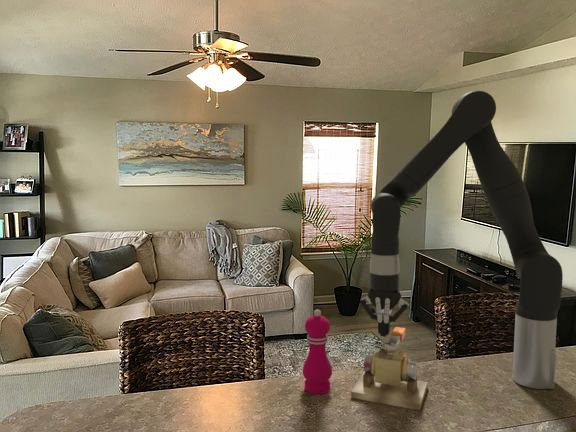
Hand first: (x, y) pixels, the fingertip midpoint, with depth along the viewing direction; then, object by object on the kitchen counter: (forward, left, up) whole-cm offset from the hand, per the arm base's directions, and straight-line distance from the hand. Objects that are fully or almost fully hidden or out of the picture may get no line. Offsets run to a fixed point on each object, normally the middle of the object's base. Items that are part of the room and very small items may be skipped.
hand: (383, 335), depth 130 cm
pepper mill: (+13, +15, -10) cm, 22 cm away
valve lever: (-4, +5, 0) cm, 6 cm away
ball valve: (-4, +11, -7) cm, 13 cm away
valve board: (-4, +11, -10) cm, 15 cm away
